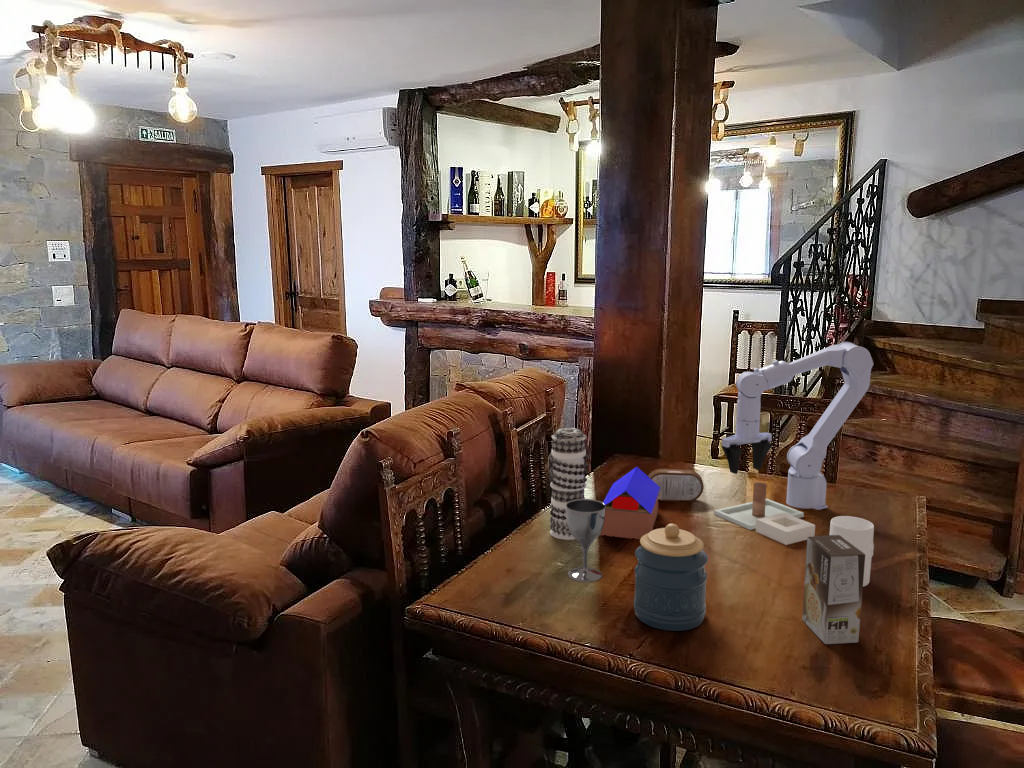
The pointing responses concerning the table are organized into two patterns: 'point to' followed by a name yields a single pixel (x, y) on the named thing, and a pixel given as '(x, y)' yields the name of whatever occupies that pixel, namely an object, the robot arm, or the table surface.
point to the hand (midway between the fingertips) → (745, 470)
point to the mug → (856, 537)
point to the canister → (670, 579)
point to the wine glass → (585, 532)
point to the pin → (759, 499)
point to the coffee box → (833, 589)
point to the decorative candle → (566, 477)
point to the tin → (677, 484)
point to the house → (631, 506)
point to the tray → (744, 513)
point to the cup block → (785, 528)
